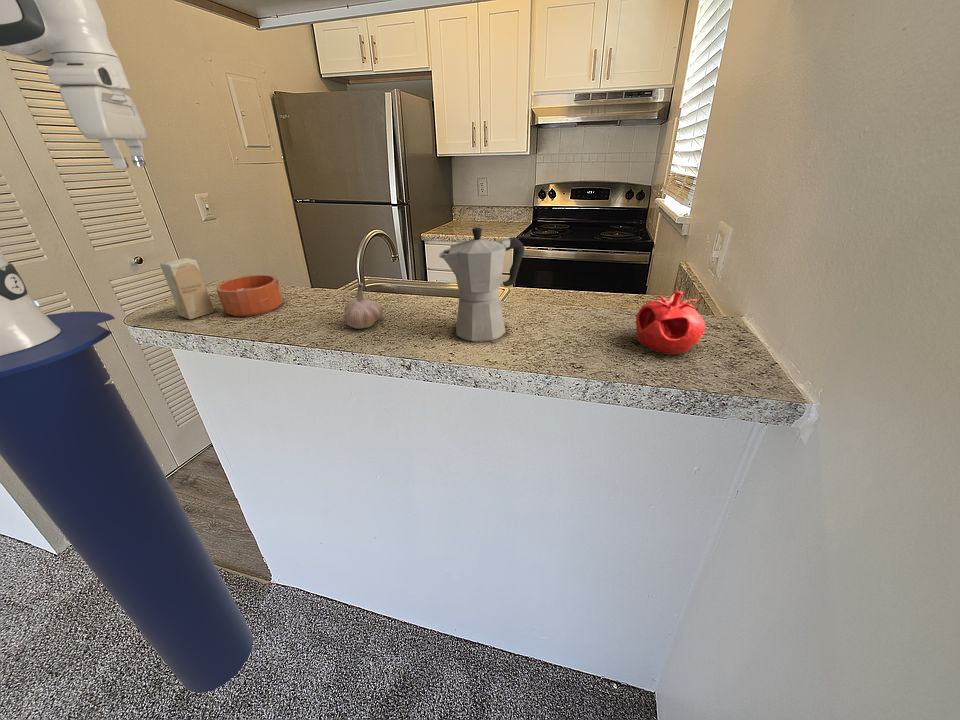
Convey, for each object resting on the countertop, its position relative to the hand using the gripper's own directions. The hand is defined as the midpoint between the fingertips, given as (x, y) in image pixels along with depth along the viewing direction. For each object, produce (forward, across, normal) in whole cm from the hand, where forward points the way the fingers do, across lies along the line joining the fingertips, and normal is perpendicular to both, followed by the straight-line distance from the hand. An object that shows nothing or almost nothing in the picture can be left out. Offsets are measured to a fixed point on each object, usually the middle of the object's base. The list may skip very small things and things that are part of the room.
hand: (132, 167), depth 76 cm
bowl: (+28, +8, +14) cm, 32 cm away
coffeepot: (+28, +39, +55) cm, 73 cm away
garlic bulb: (+28, +27, +35) cm, 53 cm away
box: (+28, +7, +3) cm, 29 cm away
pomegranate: (+29, +56, +80) cm, 102 cm away
